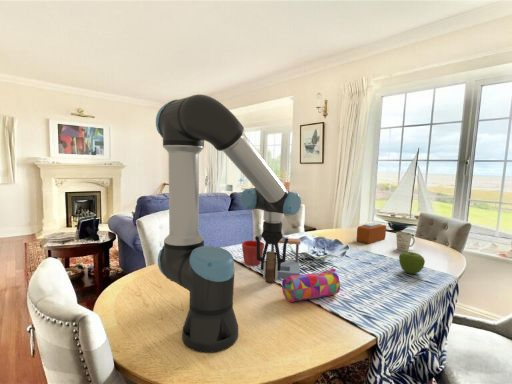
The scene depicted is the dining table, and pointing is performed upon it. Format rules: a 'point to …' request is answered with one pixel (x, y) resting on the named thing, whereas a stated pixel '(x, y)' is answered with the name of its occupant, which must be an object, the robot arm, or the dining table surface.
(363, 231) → the orange rectangular block
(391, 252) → the dining table surface
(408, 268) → the apple
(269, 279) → the dowel
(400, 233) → the mug
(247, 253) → the flower pot
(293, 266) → the socket board
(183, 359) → the dining table surface
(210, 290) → the robot arm
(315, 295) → the pencil case
